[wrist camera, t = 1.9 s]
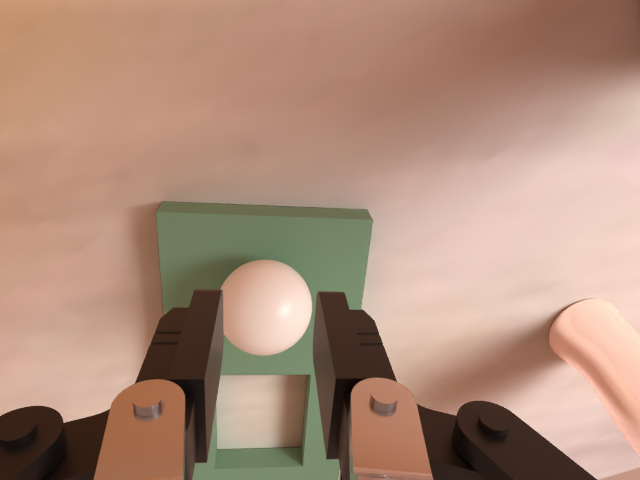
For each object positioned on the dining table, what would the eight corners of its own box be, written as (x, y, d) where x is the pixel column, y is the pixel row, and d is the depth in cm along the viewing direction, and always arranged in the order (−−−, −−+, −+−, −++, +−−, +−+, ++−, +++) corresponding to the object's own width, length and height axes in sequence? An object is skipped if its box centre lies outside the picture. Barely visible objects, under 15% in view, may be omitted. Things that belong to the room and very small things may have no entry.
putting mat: (162, 201, 30) (155, 211, 28) (366, 209, 32) (372, 219, 30) (180, 474, 41) (176, 495, 39) (334, 469, 42) (336, 488, 41)
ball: (220, 242, 30) (209, 288, 24) (311, 245, 30) (320, 290, 25) (221, 319, 32) (211, 376, 27) (305, 320, 33) (312, 376, 27)
